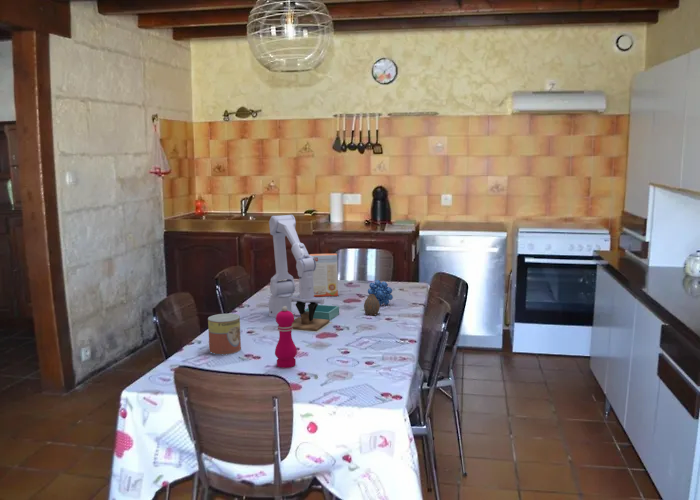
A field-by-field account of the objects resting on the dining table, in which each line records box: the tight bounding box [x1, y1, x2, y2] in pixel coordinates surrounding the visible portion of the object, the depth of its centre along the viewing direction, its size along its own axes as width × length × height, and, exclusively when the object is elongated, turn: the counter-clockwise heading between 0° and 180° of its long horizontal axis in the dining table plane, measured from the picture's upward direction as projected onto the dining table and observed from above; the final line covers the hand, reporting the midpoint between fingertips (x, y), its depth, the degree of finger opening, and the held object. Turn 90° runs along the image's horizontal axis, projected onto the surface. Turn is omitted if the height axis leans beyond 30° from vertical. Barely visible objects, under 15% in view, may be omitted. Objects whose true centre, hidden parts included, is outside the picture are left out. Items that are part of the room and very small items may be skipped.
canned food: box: [207, 313, 242, 356], centre depth 219 cm, size 11×11×12 cm
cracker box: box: [308, 252, 339, 298], centre depth 304 cm, size 14×6×21 cm, turn 94°
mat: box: [292, 321, 333, 333], centre depth 249 cm, size 16×16×1 cm
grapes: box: [367, 279, 394, 306], centre depth 282 cm, size 12×7×12 cm, turn 86°
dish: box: [305, 304, 340, 321], centre depth 263 cm, size 12×12×4 cm
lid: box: [292, 311, 331, 331], centre depth 249 cm, size 14×14×5 cm
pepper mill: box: [274, 306, 298, 369], centre depth 202 cm, size 7×7×20 cm
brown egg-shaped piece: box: [363, 293, 381, 316], centre depth 267 cm, size 7×7×9 cm
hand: (307, 319), depth 249 cm, fingers closed on lid, 3 cm apart
